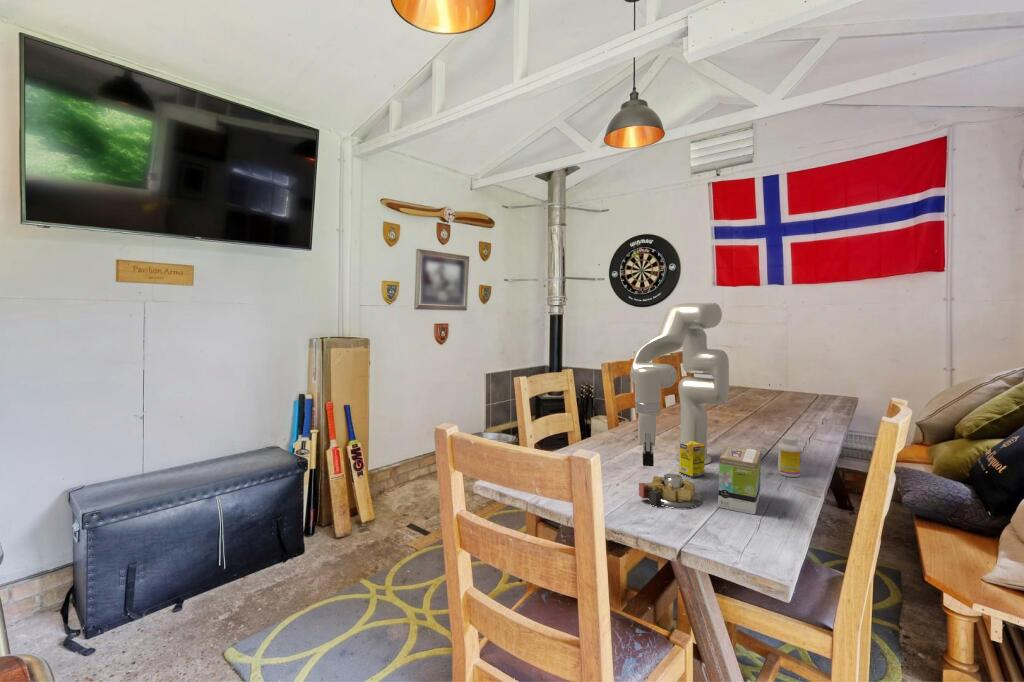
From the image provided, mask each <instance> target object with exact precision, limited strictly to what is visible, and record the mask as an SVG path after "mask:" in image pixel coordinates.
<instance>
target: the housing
mask: <svg viewBox="0 0 1024 682" xmlns="http://www.w3.org/2000/svg"><path fill="white" fill-rule="evenodd" d="M677 474H678V473H677ZM677 474H676V473H666V474H664V475H663V477H664V486H666V485H667V483H670V484H673V488H682V479H683V476H682V475H681V474H678V475H677ZM648 499H649V500H650V501H649V500H648ZM648 499H647V500H648V501H649V505H650V504H651V505H654V506H658V505H664V506H668V507H674V508H690V509H692V508H691V507H695V506H697V507H699V506H700V505H701V504H702V496H701V494H699V493H698V492H696V491H695V496H694V498H693V499H692V500H691V501H683V502H678V501H675V502H674V501H669V500H664V499H661V491H658V490H653V491H650V498H648ZM700 503H701V504H700ZM699 504H700V505H699ZM651 505H650V506H651ZM698 505H699V506H698ZM654 506H653V507H654ZM658 507H659V506H658ZM674 508H673V509H674ZM695 508H696V507H695Z"/></svg>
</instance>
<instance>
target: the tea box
mask: <svg viewBox="0 0 1024 682" xmlns="http://www.w3.org/2000/svg"><path fill="white" fill-rule="evenodd" d="M718 469H719V470H718V489H717V491H718V492H717V507H718V508H722V509H725V510H726V509H727V510H730V511H735V512H739V513H746V514H751V515H755V514H756V512H757V509H758V504H759V501H760V500H759V499H760V494H761V472H762V471H761V470H762V451H761V450H759V449H758V450H757V449H753V448H745V447H740V446H739V447H737V446H732V445H726V446H725V448H724V449H723V451H722V453H721V455H720V456H719V468H718Z"/></svg>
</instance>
